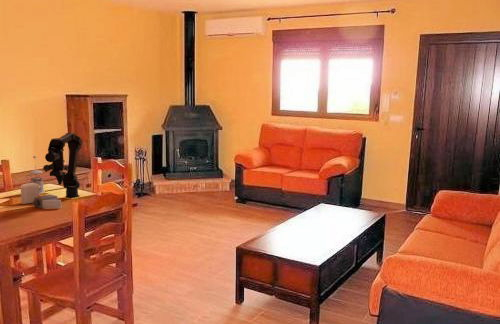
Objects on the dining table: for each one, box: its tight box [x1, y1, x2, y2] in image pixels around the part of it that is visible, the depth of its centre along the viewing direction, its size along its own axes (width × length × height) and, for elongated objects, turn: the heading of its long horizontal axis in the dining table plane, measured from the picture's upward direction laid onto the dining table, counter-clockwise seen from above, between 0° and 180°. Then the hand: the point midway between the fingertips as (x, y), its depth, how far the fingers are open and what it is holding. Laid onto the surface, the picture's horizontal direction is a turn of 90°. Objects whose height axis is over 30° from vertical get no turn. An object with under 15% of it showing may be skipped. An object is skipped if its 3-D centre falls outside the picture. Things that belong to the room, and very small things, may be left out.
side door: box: [42, 199, 62, 210], centre depth 253 cm, size 10×2×5 cm, turn 99°
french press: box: [25, 155, 46, 195], centre depth 289 cm, size 10×12×25 cm
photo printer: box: [20, 182, 41, 205], centre depth 265 cm, size 10×4×12 cm, turn 123°
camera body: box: [32, 194, 59, 210], centre depth 259 cm, size 12×8×6 cm
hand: (60, 184), depth 263 cm, fingers closed
